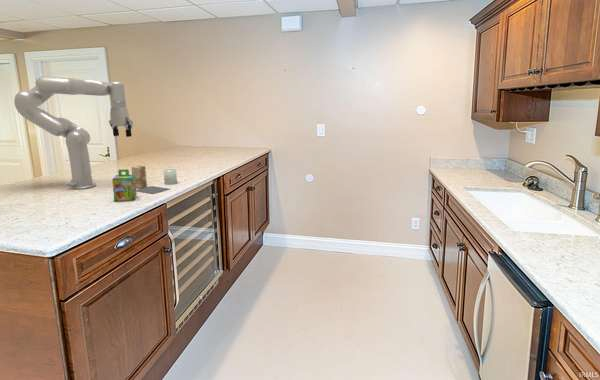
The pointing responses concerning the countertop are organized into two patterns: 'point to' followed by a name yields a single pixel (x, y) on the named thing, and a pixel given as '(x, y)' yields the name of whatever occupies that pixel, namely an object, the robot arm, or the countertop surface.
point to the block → (139, 176)
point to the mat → (152, 190)
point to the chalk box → (124, 186)
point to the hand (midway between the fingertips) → (122, 136)
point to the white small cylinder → (170, 176)
